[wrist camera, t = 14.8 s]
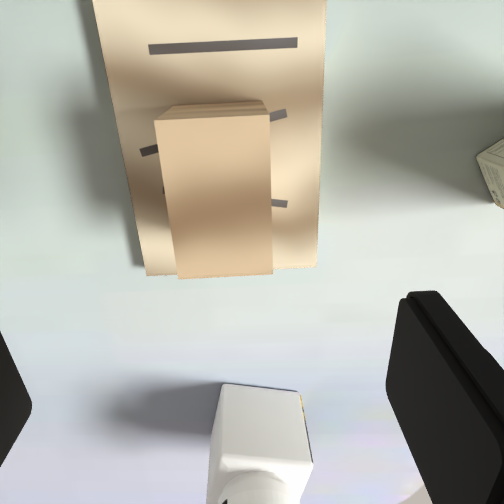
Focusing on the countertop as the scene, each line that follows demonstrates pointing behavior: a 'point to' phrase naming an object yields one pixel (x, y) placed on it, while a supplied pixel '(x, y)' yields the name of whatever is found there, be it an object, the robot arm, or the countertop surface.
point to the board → (219, 101)
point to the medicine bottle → (258, 447)
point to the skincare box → (494, 170)
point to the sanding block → (218, 187)
